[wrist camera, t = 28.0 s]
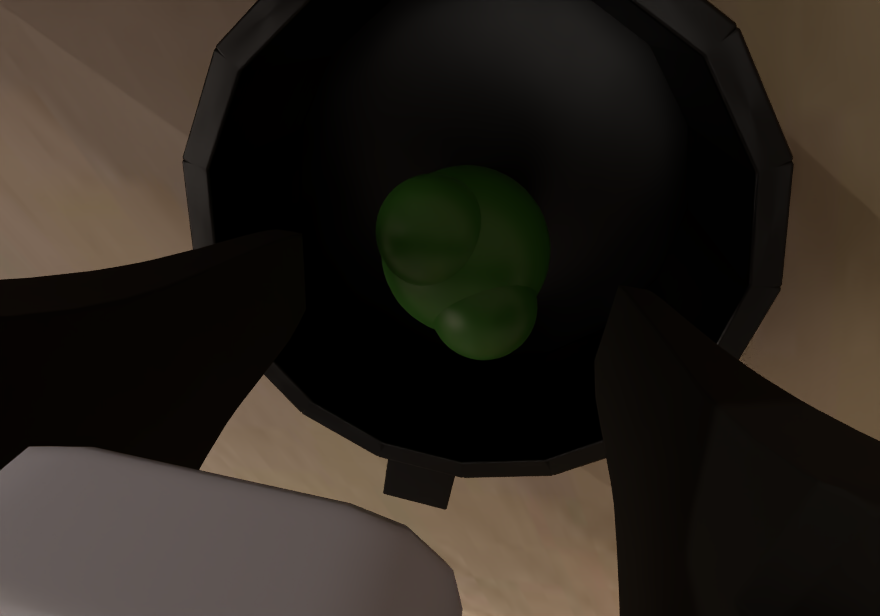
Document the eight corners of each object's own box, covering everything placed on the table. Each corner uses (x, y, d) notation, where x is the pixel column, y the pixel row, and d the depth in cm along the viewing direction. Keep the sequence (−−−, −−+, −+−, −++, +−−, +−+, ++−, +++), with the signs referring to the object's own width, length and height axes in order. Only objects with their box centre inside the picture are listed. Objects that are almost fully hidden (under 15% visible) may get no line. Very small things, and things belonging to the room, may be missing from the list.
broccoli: (464, 291, 19) (432, 408, 13) (384, 175, 17) (307, 251, 11) (577, 235, 17) (594, 342, 11) (499, 97, 15) (475, 143, 10)
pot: (290, 369, 23) (218, 469, 18) (285, -225, 13) (113, -388, 8) (596, 443, 22) (612, 571, 17) (862, -137, 12) (1110, -256, 7)
